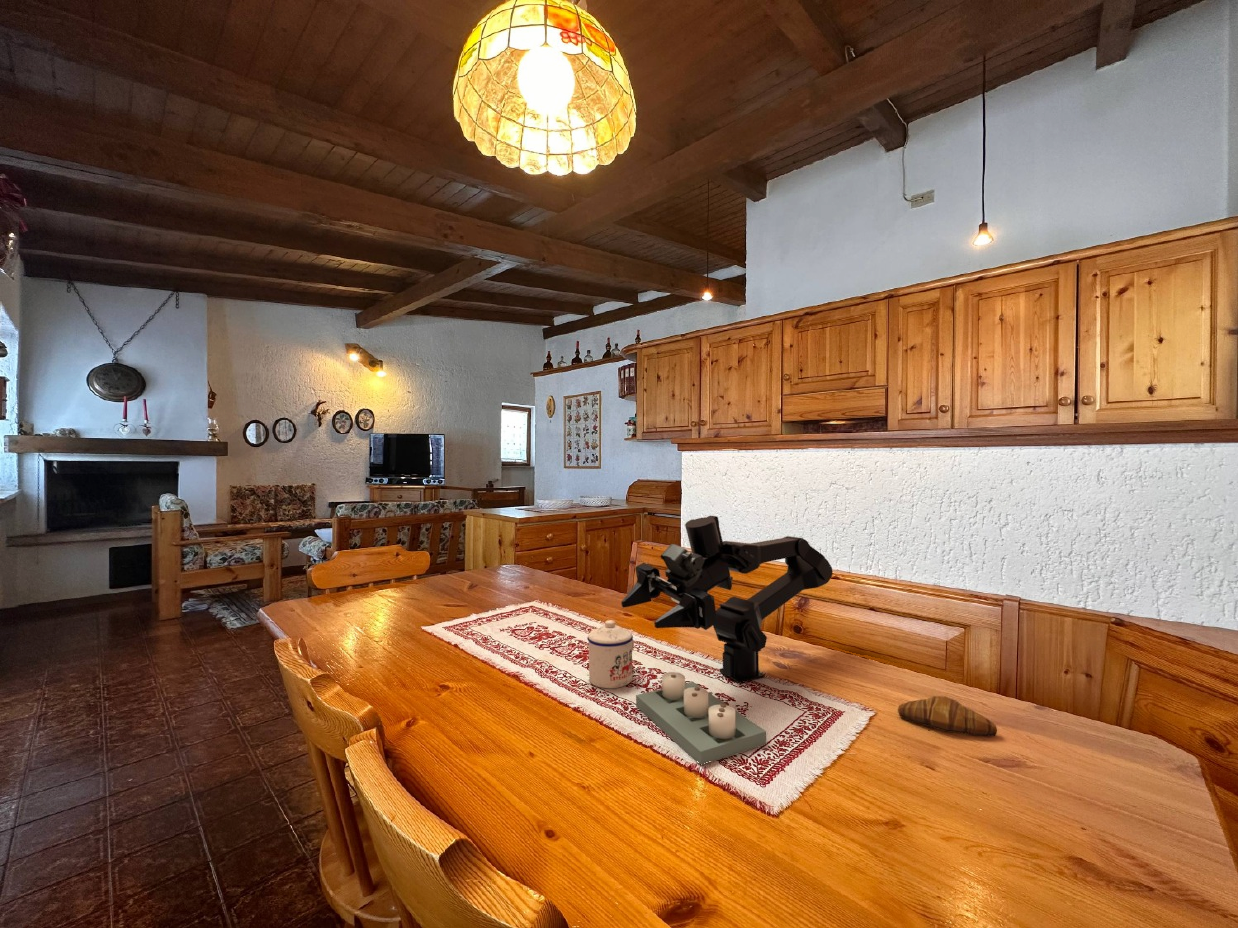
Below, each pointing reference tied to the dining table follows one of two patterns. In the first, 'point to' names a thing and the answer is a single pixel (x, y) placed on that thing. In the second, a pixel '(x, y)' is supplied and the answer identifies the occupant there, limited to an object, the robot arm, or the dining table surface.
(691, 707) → the button two
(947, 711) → the croissant
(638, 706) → the board
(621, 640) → the teacup with lid
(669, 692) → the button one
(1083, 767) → the dining table surface
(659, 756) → the dining table surface
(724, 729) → the button three
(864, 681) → the dining table surface
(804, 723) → the dining table surface
